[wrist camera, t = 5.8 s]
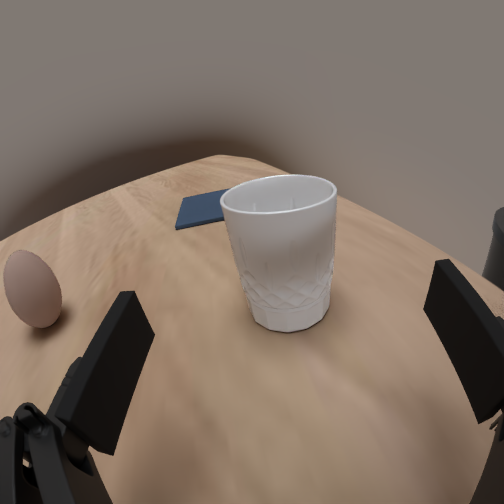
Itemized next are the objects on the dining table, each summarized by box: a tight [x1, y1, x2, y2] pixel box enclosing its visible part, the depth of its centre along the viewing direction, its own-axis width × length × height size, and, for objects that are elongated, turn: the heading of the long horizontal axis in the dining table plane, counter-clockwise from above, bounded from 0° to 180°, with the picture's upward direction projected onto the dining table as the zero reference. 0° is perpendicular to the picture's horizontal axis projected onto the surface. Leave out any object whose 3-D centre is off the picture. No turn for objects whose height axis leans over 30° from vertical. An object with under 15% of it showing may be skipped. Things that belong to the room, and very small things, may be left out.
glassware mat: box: [175, 188, 231, 230], centre depth 48 cm, size 16×14×1 cm
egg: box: [4, 250, 62, 328], centre depth 23 cm, size 7×7×9 cm
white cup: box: [220, 175, 337, 332], centre depth 21 cm, size 8×8×10 cm
